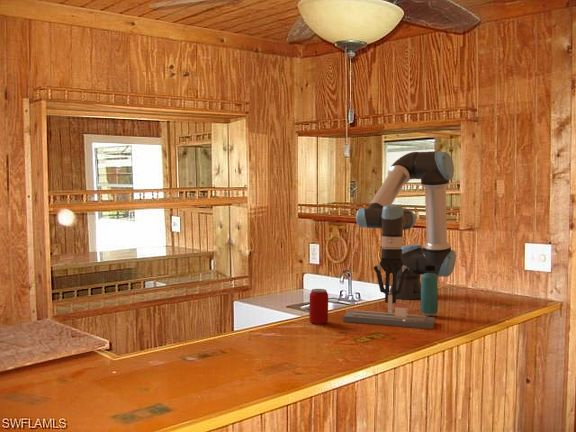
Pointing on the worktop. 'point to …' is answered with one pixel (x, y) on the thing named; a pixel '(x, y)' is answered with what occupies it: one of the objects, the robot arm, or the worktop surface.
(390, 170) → the robot arm
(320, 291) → the beverage can
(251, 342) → the worktop surface
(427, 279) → the beverage bottle
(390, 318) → the board
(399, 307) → the fader tab
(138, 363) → the worktop surface
